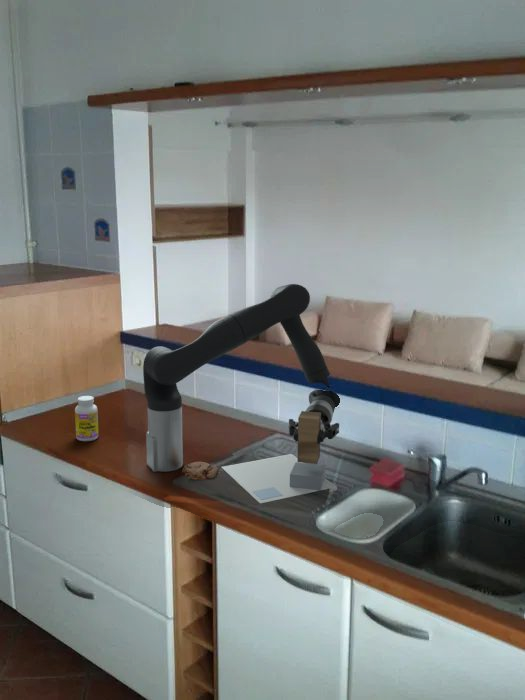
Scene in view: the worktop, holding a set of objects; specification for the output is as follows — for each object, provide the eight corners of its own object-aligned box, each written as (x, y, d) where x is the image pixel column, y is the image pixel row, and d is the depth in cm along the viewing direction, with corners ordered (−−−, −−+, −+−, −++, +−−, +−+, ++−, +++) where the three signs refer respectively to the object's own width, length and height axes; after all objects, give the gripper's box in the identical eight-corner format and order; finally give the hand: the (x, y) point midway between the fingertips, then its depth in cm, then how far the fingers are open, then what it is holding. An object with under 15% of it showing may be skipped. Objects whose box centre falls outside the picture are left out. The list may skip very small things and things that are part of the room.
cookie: (197, 465, 188) (197, 455, 187) (226, 475, 182) (226, 464, 181) (172, 477, 180) (172, 467, 179) (202, 487, 174) (202, 477, 173)
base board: (260, 507, 163) (260, 490, 162) (221, 470, 184) (221, 454, 183) (337, 490, 173) (338, 474, 172) (291, 457, 194) (292, 442, 193)
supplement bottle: (76, 442, 202) (74, 402, 199) (76, 435, 208) (73, 395, 205) (99, 441, 204) (97, 400, 201) (98, 433, 210) (96, 394, 207)
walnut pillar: (316, 463, 171) (318, 419, 168) (297, 461, 172) (298, 417, 169) (319, 456, 175) (321, 412, 173) (300, 454, 177) (301, 411, 174)
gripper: (292, 401, 186) (279, 422, 170) (344, 406, 183) (336, 427, 167) (292, 427, 188) (279, 450, 172) (343, 432, 185) (335, 455, 169)
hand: (307, 439), depth 170 cm, fingers closed on walnut pillar, 5 cm apart
